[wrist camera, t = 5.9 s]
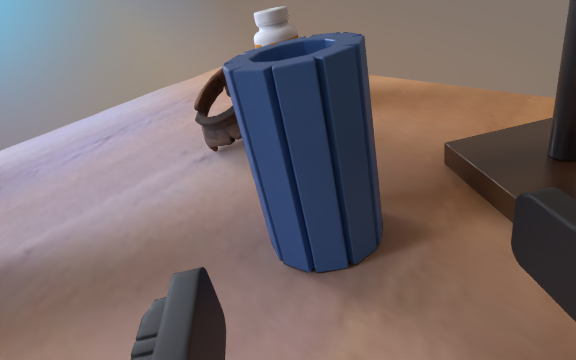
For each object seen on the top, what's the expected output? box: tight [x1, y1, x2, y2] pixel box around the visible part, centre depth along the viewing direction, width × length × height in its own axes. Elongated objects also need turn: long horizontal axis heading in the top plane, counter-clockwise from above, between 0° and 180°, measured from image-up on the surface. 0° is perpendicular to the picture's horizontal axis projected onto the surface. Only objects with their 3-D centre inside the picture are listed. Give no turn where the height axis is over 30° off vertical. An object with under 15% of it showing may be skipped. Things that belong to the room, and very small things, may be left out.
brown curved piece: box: [194, 68, 242, 152], centre depth 35 cm, size 12×10×8 cm
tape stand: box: [445, 0, 576, 222], centre depth 19 cm, size 9×9×10 cm
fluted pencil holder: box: [222, 32, 383, 273], centre depth 18 cm, size 6×6×10 cm
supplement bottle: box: [254, 6, 298, 48], centre depth 46 cm, size 5×5×10 cm
